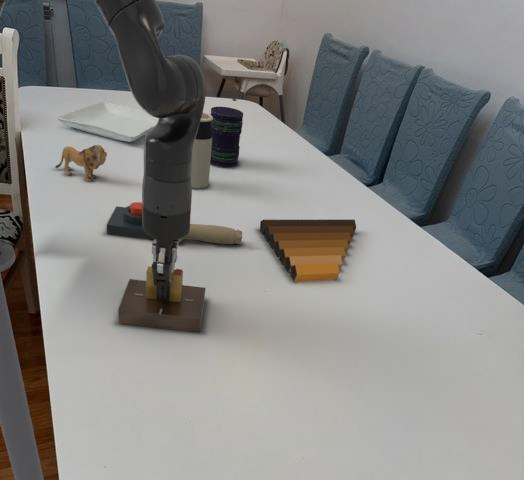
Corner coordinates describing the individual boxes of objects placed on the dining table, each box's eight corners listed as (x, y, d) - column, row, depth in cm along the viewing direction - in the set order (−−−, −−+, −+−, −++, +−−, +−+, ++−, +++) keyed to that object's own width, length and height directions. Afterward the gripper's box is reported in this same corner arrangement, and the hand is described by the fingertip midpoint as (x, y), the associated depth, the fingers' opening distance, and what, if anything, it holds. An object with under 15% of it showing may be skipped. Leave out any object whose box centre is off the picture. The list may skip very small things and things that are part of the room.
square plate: (103, 111, 179) (102, 99, 176) (172, 129, 175) (173, 117, 172) (56, 128, 158) (55, 115, 156) (133, 148, 154) (133, 135, 151)
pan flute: (348, 228, 131) (259, 229, 123) (351, 216, 129) (261, 216, 120) (395, 278, 113) (295, 283, 105) (400, 265, 111) (298, 269, 103)
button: (128, 215, 110) (128, 207, 109) (131, 208, 113) (131, 201, 112) (145, 217, 110) (145, 209, 109) (147, 210, 113) (147, 203, 112)
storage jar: (223, 170, 151) (230, 106, 140) (200, 159, 155) (204, 97, 144) (244, 164, 158) (251, 103, 146) (220, 154, 161) (226, 94, 150)
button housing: (107, 234, 109) (106, 217, 107) (116, 215, 117) (115, 198, 115) (162, 240, 111) (162, 224, 108) (167, 221, 118) (168, 205, 116)
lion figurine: (111, 178, 133) (109, 144, 128) (101, 185, 129) (99, 149, 124) (60, 166, 135) (56, 131, 129) (49, 172, 130) (45, 137, 125)
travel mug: (205, 178, 143) (210, 112, 132) (210, 189, 137) (216, 121, 126) (178, 177, 141) (180, 109, 130) (181, 188, 135) (185, 118, 124)
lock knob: (146, 298, 87) (146, 270, 84) (147, 293, 89) (147, 264, 85) (180, 302, 88) (182, 274, 84) (181, 296, 89) (183, 269, 86)
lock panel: (118, 324, 85) (118, 309, 83) (129, 292, 93) (129, 277, 91) (200, 332, 87) (201, 318, 85) (204, 300, 95) (205, 286, 93)
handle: (240, 253, 113) (174, 246, 110) (238, 240, 118) (174, 232, 114) (244, 234, 110) (176, 225, 107) (241, 221, 115) (176, 213, 111)
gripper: (149, 182, 82) (148, 273, 93) (134, 218, 71) (135, 315, 82) (194, 188, 83) (189, 277, 94) (186, 224, 72) (181, 320, 83)
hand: (164, 295), depth 88 cm, fingers closed
